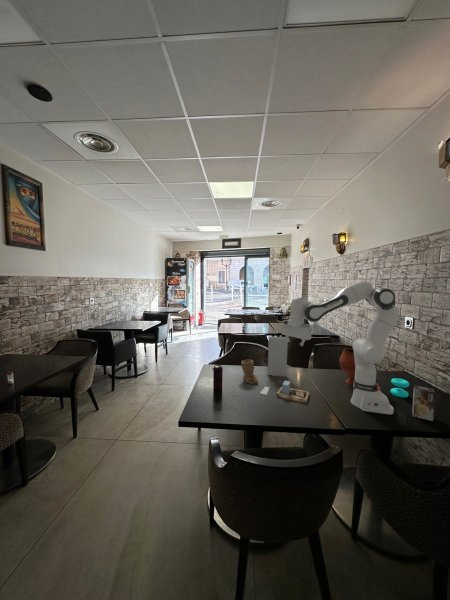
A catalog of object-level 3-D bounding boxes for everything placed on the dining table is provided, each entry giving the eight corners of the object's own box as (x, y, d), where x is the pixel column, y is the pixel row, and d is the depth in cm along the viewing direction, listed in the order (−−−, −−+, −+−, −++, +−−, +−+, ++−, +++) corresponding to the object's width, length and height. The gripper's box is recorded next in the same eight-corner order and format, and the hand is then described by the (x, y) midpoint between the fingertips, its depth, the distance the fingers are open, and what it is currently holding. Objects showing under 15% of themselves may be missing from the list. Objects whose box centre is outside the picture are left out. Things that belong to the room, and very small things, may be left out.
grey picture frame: (432, 416, 142) (434, 388, 141) (433, 421, 136) (436, 393, 135) (411, 411, 147) (413, 384, 146) (412, 416, 142) (414, 388, 140)
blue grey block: (289, 394, 165) (290, 381, 164) (287, 399, 159) (288, 385, 158) (284, 393, 167) (285, 380, 166) (281, 398, 160) (282, 384, 160)
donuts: (410, 380, 168) (407, 384, 161) (409, 395, 169) (406, 400, 162) (393, 376, 175) (389, 380, 168) (392, 390, 176) (388, 394, 169)
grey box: (285, 373, 203) (286, 337, 201) (286, 376, 198) (287, 338, 195) (267, 372, 204) (268, 336, 202) (267, 375, 199) (269, 337, 197)
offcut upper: (303, 395, 161) (303, 392, 161) (303, 399, 155) (303, 396, 155) (296, 394, 162) (296, 391, 162) (296, 398, 157) (296, 395, 157)
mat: (278, 390, 172) (278, 389, 172) (273, 397, 161) (273, 396, 161) (265, 387, 176) (265, 386, 176) (259, 393, 165) (259, 393, 165)
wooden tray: (309, 397, 162) (309, 392, 162) (306, 405, 151) (306, 399, 151) (281, 391, 170) (281, 386, 170) (276, 398, 159) (276, 393, 159)
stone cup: (240, 376, 195) (240, 357, 194) (255, 376, 196) (256, 357, 195) (241, 384, 180) (242, 363, 179) (258, 384, 181) (259, 364, 179)
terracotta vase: (371, 390, 176) (373, 355, 174) (342, 387, 179) (344, 352, 177) (361, 379, 194) (363, 347, 193) (335, 377, 198) (337, 346, 196)
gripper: (314, 325, 156) (312, 347, 157) (285, 320, 171) (284, 340, 172) (309, 325, 152) (307, 348, 153) (280, 320, 166) (278, 341, 168)
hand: (294, 344), depth 163 cm, fingers open, 8 cm apart
